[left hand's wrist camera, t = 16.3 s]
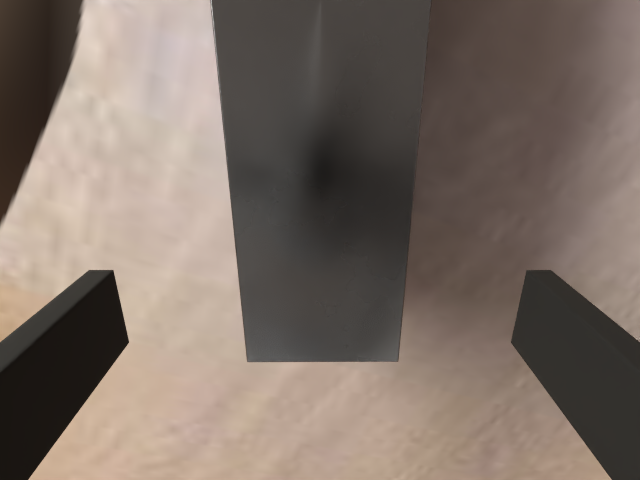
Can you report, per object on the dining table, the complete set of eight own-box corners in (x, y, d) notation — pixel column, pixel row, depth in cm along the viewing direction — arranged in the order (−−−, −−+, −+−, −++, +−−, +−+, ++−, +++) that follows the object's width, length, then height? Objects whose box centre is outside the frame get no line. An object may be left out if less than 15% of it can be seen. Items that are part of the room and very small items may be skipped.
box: (368, 249, 25) (398, 361, 15) (275, 249, 25) (246, 362, 15) (395, -326, 15) (525, -1008, 6) (242, -323, 15) (107, -997, 6)
